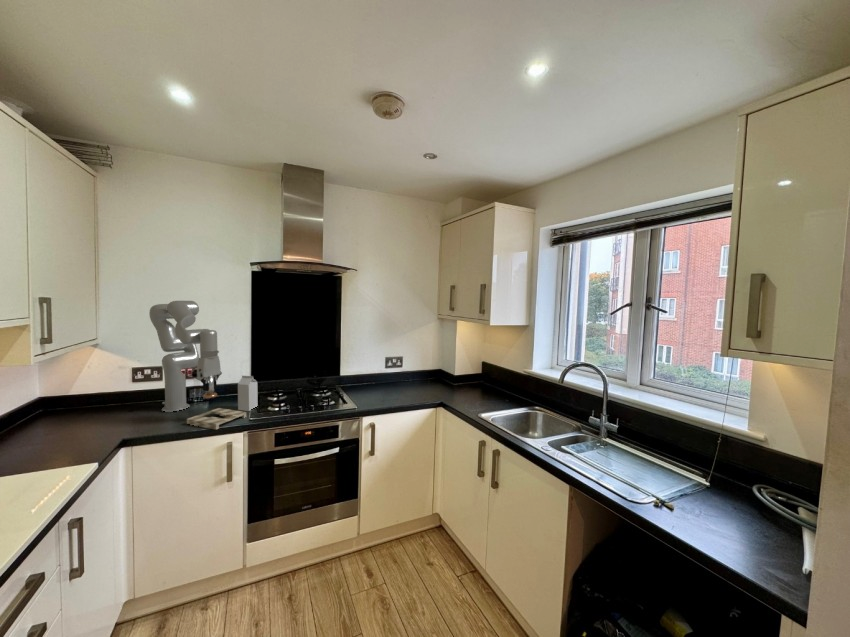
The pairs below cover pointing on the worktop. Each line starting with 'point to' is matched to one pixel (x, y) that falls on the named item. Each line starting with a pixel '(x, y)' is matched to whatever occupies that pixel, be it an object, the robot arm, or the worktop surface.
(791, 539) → the worktop surface
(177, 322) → the robot arm
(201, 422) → the keyhole plate
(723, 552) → the worktop surface
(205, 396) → the peg
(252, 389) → the milk carton
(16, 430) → the worktop surface
